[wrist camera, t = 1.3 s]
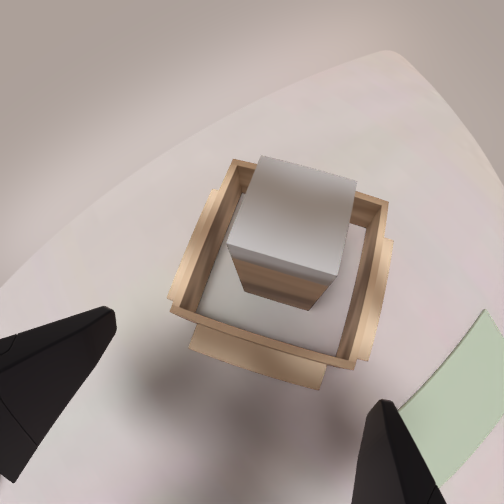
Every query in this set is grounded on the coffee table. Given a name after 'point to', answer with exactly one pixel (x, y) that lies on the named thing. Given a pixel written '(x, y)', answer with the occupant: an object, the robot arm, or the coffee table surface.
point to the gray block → (291, 231)
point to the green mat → (459, 401)
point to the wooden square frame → (262, 348)
